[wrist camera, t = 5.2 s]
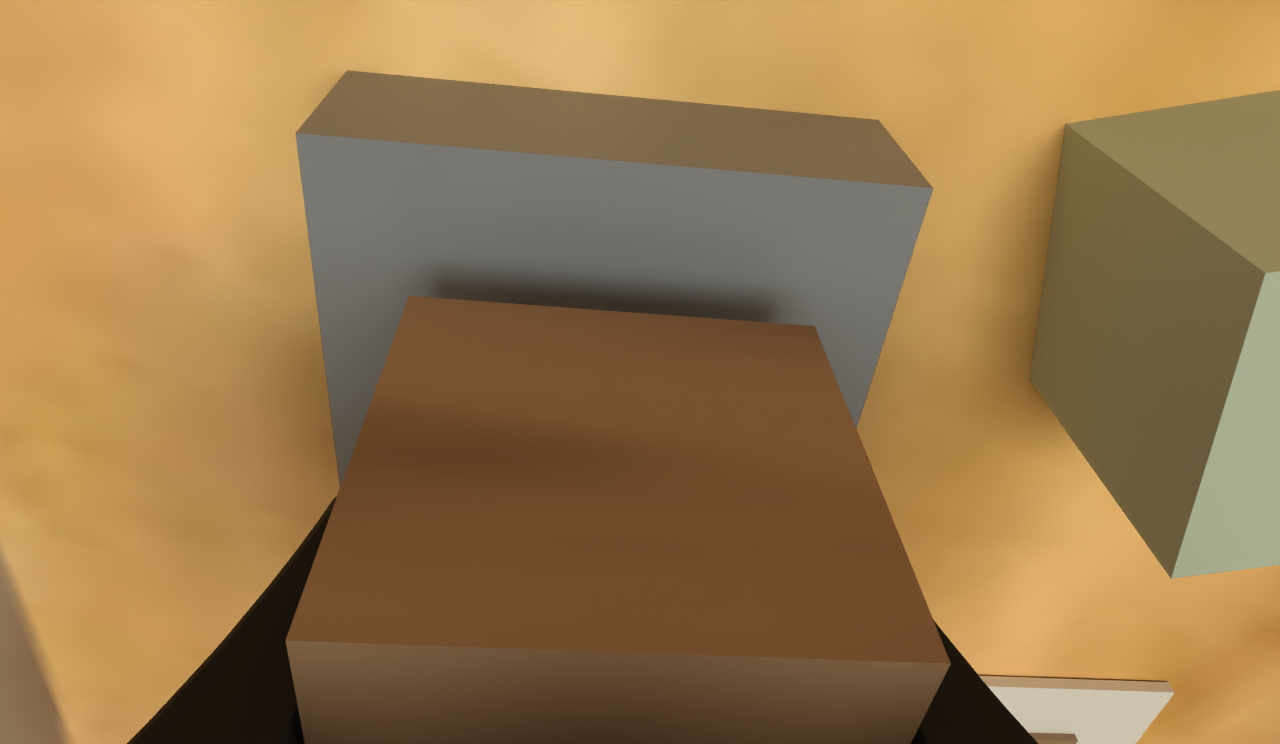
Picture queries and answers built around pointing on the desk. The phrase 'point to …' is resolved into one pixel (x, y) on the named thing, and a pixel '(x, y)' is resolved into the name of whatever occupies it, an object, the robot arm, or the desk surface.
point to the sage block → (1172, 324)
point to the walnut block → (609, 544)
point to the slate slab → (596, 216)
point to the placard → (1081, 707)
